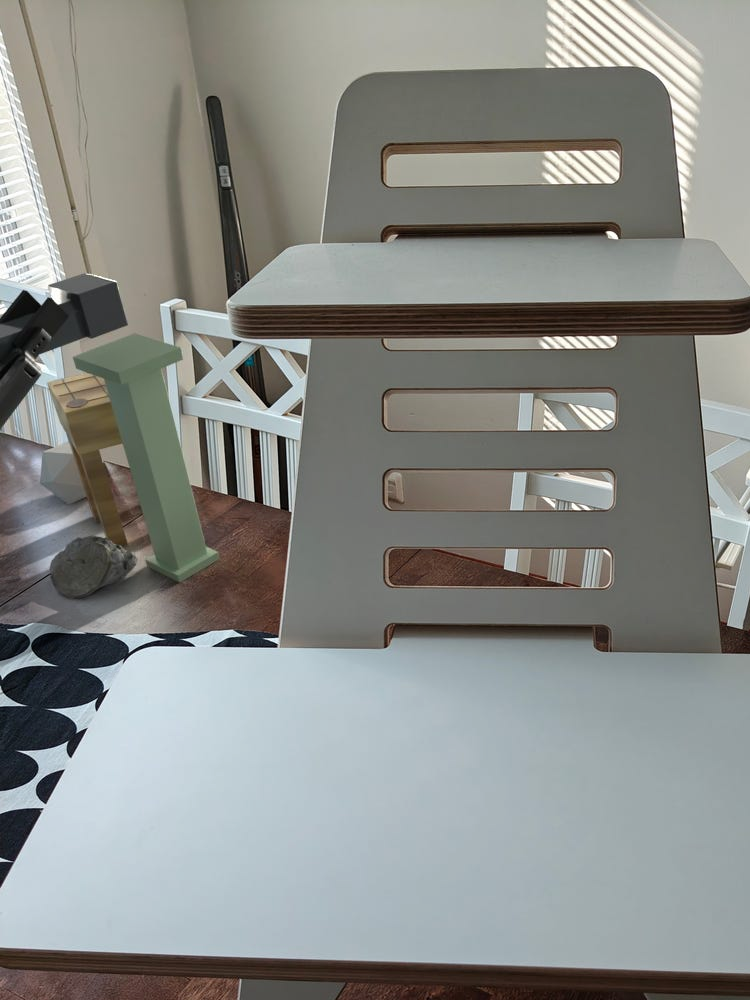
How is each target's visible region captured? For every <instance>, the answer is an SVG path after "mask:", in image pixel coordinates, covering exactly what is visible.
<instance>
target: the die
mask: <svg viewBox="0 0 750 1000" xmlns="http://www.w3.org/2000/svg"><path fill="white" fill-rule="evenodd" d="M102 461H103V462H104V460H103V459H102ZM39 476H40V478H39V485H41V486H43V487H44V488H45V489H46V490H48V491H49V492H51V493H52V494H54V495H55V496H56V497H58V498H59V499H60V500H62V501H63V502H64V503H66V504H67V505H69V506H70V505H71V504H75V503H76V502H78V501H81V500H83V499H85V498H87V496H86V493H85V490H84V487H83V484H82V481H81V478H80V475H79V472H78V469H77V465H76V462H75V459H74V456H73V453H72V450H71V447H70V444H69V441H67V442H64V443H62V444H59V445H56V446H54V447H51V448H49V449H45V450H43V451H42V455H41V466H40V475H39Z"/></svg>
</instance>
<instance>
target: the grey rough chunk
mask: <svg viewBox="0 0 750 1000" xmlns="http://www.w3.org/2000/svg"><path fill="white" fill-rule="evenodd" d="M137 564H138V555H137V554H136V553H135V552H134V551H129V550H127V549H124V548H123V546H121V545H117V544H113V543H112V541H110V540H108V539H106V537H102V536H96V535H89V536H88V535H87V536H84V537H79V536H78V537H76V538H75V539H73V540H71V541H70V542H68V543H67V544H66V545H65V548H64V549H63V550H60V551H59V552H58V553H57V554H56V555H55V556H54V557H53V559H51V561H50V566H49V575H50V579H51V582H52V584H53V586H54V587H55V589H56V590H57V591H58V592H59V593H60V594H62V595H64V596H65V597H68V598H72V599H82V598H85V597H88V596H89V595H91V594H93V593H94V592H95V591H97V590H98V589H99V588H103V587H105V586H109V585H111V584H113V583H116V582H117V581H119V580H121V579H123V577H125V576H126V575H128V574H129V573H130V572H131V571H132V570H133V569H134V568H135V567H136V566H137Z"/></svg>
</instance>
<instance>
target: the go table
mask: <svg viewBox="0 0 750 1000" xmlns="http://www.w3.org/2000/svg"><path fill="white" fill-rule="evenodd" d="M46 384H47V388H48V390H49V394H50V396H51V399H52V402H53V406H54V409H55V411H56V415H57V418H58V422H59V424H60V425H61V427H62V429H63V430H64V432H65V435H66V437H67V442H69V444H70V447H71V450H72V453H73V456H74V459H75V462H76V465H77V469H78V472H79V475H80V478H81V481H82V484H83V487H84V490H85V493H86V496H87V497H86V499H87V502H88V506H89V509H90V511H91V514H92V518H93V519H94V521H95V523H100V524H101V528H102V530H103V531H102V532H103V533H104V536H105V537H104V538H105V539H108V540H110V541H112V543H113V544H117V545H121V547H124V546H128V545H129V543H128V540H127V537H126V533H125V530H124V527H123V524H122V523H123V522H122V520H121V517H120V513H119V510H118V507H117V504H116V501H115V497H114V493H113V491H112V487H111V484H110V480H109V478H108V475H107V471H106V469H105V465H104V460H103V458H102V454H101V452H100V450H103V449H107V448H111V447H115V446H118V445H123V443H122V440H121V436H120V433H119V429H118V426H117V422H116V419H115V415H114V412H113V409H112V405H111V402H110V398H109V395H108V391H107V388H106V384H105V381H104V379H103V378H101V377H98V376H95V375H92V374H89V373H87V372H84V373H81V374H76V375H71V376H67V377H64V378H59V379H54V380H50V381H47V382H46ZM102 460H103V461H102Z"/></svg>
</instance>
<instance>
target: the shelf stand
mask: <svg viewBox="0 0 750 1000" xmlns="http://www.w3.org/2000/svg"><path fill="white" fill-rule="evenodd" d="M183 360H184V355H183V352H182V347H180V346H177V345H173V344H170V343H167V342H165V341H162V340H157V339H155V338H151V337H148V336H144V335H141V334H139V333H132V334H129V335H126V336H124V337H121V338H118V339H117V340H114V341H111V342H108V343H106V344H103V345H100V346H98V347H95V348H93V349H90V350H87V351H85V352H82V353H78V354H76V355H74V356H72V361H73V363H74V366H75V369H76V370H78V371H81V372H84V373H89V374H92V375H95V376H98V377H101V378H103V379H104V381H105V384H106V388H107V391H108V395H109V398H110V402H111V405H112V409H113V412H114V415H115V419H116V422H117V426H118V429H119V433H120V436H121V440H122V443H123V444H122V446H123V447H122V448H123V449H124V453H125V456H126V460H127V463H128V467H129V470H130V474H131V477H132V481H133V485H134V488H135V492H136V494H137V495H136V496H137V499H138V502H139V505H140V508H141V512H142V516H143V519H144V523H145V526H146V530H147V532H148V536H149V540H150V543H151V547H152V550H153V553H154V554H153V555H151V556H148V557H146V558H145V563H146V567H147V568H149V569H151V570H153V571H155V572H157V573H159V574H161V575H162V576H165V577H167V578H169V579H171V580H173V581H175V582H177V583H179V584H180V583H182V582H184V581H185V580H187V579H189V578H190V577H192V576H194V575H196V574H197V573H199V572H201V571H203V570H204V569H206V568H207V567H209V566H211V565H212V564H214V563H216V562H218V561H219V560H220V554H219V552H218V551H217V550H214V549H213V548H210V547H209V546H207V545H206V542H205V537H204V533H203V530H202V529H203V528H202V526H201V522H200V517H199V513H198V509H197V505H196V502H195V501H196V500H195V498H194V494H193V490H192V485H191V481H190V476H189V474H188V469H187V466H186V462H185V457H184V453H183V450H182V446H181V441H180V438H179V433H178V430H177V429H178V428H177V426H176V421H175V417H174V413H173V408H172V406H171V402H170V397H169V393H168V389H167V386H166V381H165V378H164V374H163V369H165V368H166V367H169V366H171V365H174V364H176V363H178V362H180V361H183Z"/></svg>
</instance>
